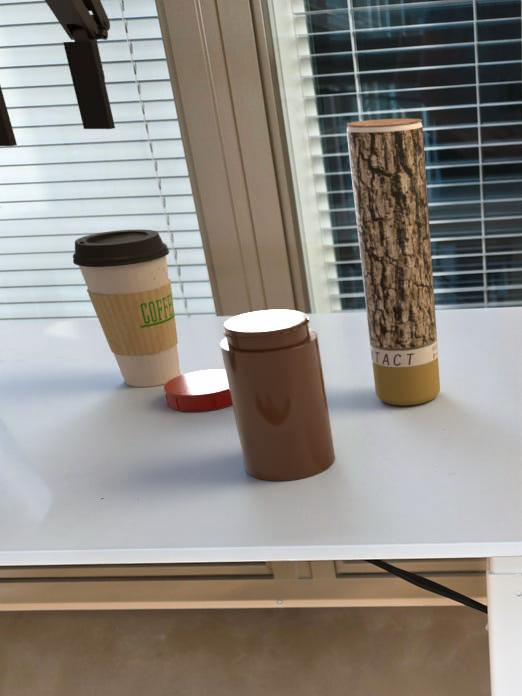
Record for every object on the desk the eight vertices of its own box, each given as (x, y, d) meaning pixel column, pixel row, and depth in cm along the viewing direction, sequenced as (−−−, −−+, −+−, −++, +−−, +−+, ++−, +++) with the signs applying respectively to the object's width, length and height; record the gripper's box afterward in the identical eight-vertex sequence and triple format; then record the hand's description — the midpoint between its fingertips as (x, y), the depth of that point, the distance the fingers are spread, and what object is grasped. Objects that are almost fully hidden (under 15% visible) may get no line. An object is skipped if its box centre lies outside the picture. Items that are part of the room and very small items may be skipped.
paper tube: (404, 382, 97) (380, 118, 83) (453, 392, 93) (437, 118, 79) (362, 401, 92) (329, 125, 78) (413, 412, 89) (388, 126, 75)
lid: (221, 380, 100) (218, 364, 99) (261, 396, 95) (258, 379, 94) (154, 400, 95) (149, 383, 94) (192, 417, 90) (188, 400, 89)
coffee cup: (209, 379, 101) (177, 236, 92) (122, 398, 96) (80, 251, 88) (180, 359, 107) (149, 224, 99) (98, 376, 103) (57, 237, 94)
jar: (243, 485, 76) (212, 338, 69) (247, 450, 83) (219, 312, 76) (336, 475, 77) (315, 329, 70) (333, 441, 84) (314, 304, 76)
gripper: (-131, -258, 52) (-9, 154, 64) (111, -181, 71) (169, 122, 84) (-235, -247, 53) (-96, 154, 65) (30, -174, 73) (99, 122, 85)
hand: (53, 137), depth 74 cm, fingers open, 13 cm apart
